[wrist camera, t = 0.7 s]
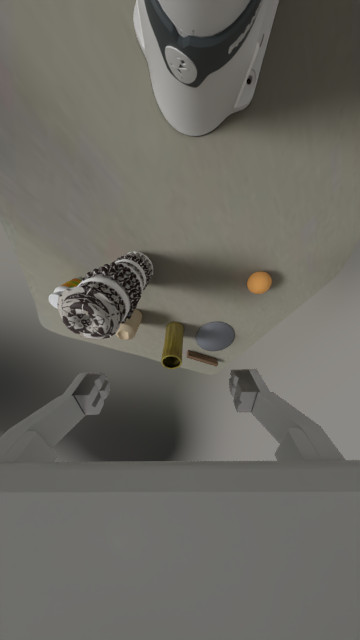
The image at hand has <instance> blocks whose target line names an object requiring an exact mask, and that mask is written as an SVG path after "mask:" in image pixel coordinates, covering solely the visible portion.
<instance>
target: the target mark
mask: <svg viewBox="0 0 360 640" xmlns="http://www.w3.org/2000/svg"><path fill="white" fill-rule="evenodd" d="M233 340H234V331H233V329H232V328H231V326H229V325H228V324H226V323H223V322H211V323H208V324H206V325H204V326H202V327H201V328H200V329H199V331H198V332H197V335H196V341H197V343H198V345H199V346H200V347H201V348H203V349H205V350H208V351H219V350H222V349H225V348H226V347H228V346H229V345H230V344H231V343H232V342H233Z"/></svg>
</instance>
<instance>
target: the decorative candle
mask: <svg viewBox="0 0 360 640" xmlns="http://www.w3.org/2000/svg"><path fill="white" fill-rule="evenodd" d="M152 275H153V265H152V262H151V261H150V259H149V258H148V257H147V256H146V255H144V254H143V253H141V252H136V251H133V252H129V253H126V254H125V255H123V256H121V257H120V258H118V259H117V260H116V261H114V262H112V263H110V264H105V265H104V267H100V268H99V270H98V269H94V270H93V272H88V273H87V274H86V277H85V278H83V279H82V282H81V283H80V284H79V285H78V286H77V287H73V288H69V289H65V290H64V291H63V292H62V293H61V294H60V295H59V297H58V303H57V307H58V310H59V313H60V316H61V318H62V321H63V322H64V324H65V325H66V326H67V327H68V328H69V329H70V330H71V331H73V332H74V333H75V334H78V335H80V336H83V337H86V338H97V339H103V338H109V337H111V336H112V335H114V334H115V333H117V331H118V329H119V327H120V325H121V324H120V323H122V324H123V323H125V322H126V319H130V318H131V315H132V314H133V311H134V310H135V308H136V307H137V304H138V301H139V299H140V298H141V294H142V292H143V290H144V289H145V288H146V287H147V285H148V284H149V282H150V280H151V278H152ZM94 276H95V277H94Z"/></svg>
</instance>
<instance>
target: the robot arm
mask: <svg viewBox="0 0 360 640" xmlns="http://www.w3.org/2000/svg"><path fill="white" fill-rule="evenodd" d="M278 3H279V0H137V1H136V5H135V9H134V27H135V32H136V36H137V39H138V42H139V44H140V46H141V49H142V51H143V53H144V55H145V57H146V59H147V62H148V66H149V71H150V76H151V82H152V86H153V90H154V94H155V97H156V100H157V103H158V105H159V107H160V109H161V111H162V113H163V115H164V116H165V118H166V119H167V121H168V122H169V123H170V124H171V125H172V126H173V127H174V128H175V129H176V130H178V131H179V132H181V133H183V134H185V135H189V136H200V135H204V134H207V133H209V132H210V131H212V130H214V129H215V128H216V127H217V126H218V125H220V124H221V123H222V122H223V120H224V119H225V118H226V117H228V116H229V115H230V114H232V113H235V112H238V111H241V110H243V109H245V108H246V107H247V106H248V105H249V104H250V102H251V100H252V97H253V95H254V91H255V88H256V84H257V80H258V76H259V73H260V69H261V65H262V62H263V58H264V54H265V51H266V47H267V43H268V40H269V36H270V32H271V28H272V25H273V21H274V17H275V14H276V10H277V6H278ZM247 79H250V80H251V84H250V85H248V84H247ZM230 375H231V378H230V379H229V388H230V392H231V395H232V396H234V405H235V408H236V411H237V412H252V414H253V415H254V416H255V417H256V419H257V420H258V421H259V422H260V423H261V424H262V425H263V426H264V427H265V428H266V429H267V430H268V431H269V433H270V434H271V435H272V436H273V437H274V438H275V439H276V440H277V441H278V442H279V443H280V445H279V447H278V449H277V450H276V452H275V456H276V459H277V461H175V462H174V461H170V462H169V461H167V462H54V461H55V459H56V458H57V453H56V452H55V451H54V450H53V449H52V448H53V447H54V446H55V444H57V443H58V442H59V441H60V440H61V439H62V438H63V437H64V436H65V435H66V434H67V433H68V432H69V431H70V430H71V429H72V428H73V427H74V426H75V425H76V424H77V423H78V422H79V421H80V420H81V419H82V418H83V417H84V415H94V414H99V413H100V411H101V408H102V406H103V404H104V402H103V400H104V399H105V398H106V397H107V396H108V393H109V390H110V384H109V382H108V381H107V380H106V377H107V376H106V374H105V373H80V374H79V375H78V376H77V377H76V378H75V380H74V381H73V382H72V384H71V385H70V386H69V387H68V389H67V390H66V391H65V393H64V394H63V395H62V396H59V397H57V398H56V399H54V400H53V401H51V402H50V403H48V404H47V405H45V406H44V407H42V408H41V409H39V410H38V411H36V412H35V413H33V414H32V415H30V416H29V417H27V418H26V419H24V420H23V421H21V422H20V423H18V424H17V425H15V426H14V427H12V428H10V429H9V430H8V431H7V432H6V433H5V434H4V435H3V436H2V437H1V438H0V640H360V460H345V459H344V457H343V456H342V454H341V453H340V452H339V451H338V449H337V448H336V447H335V445H334V444H333V442H332V441H331V440H330V438H329V437H328V436H327V434H326V433H325V432H324V430H323V429H322V428H321V426H319V425H318V424H316V423H315V422H314V421H312V420H311V419H309V418H308V417H307V416H305V415H304V414H302V413H301V412H300V411H298V410H297V409H296V408H294V407H293V406H292V405H290V404H289V403H287V402H286V401H285V400H283V399H282V398H280V397H279V396H278V395H276V394H275V393H273V392H270V391H269V389H268V387H267V386H266V384H265V382H264V381H263V379H262V377H261V375H260V374H259V372H258V371H257V370H256V369H242V370H231V373H230Z"/></svg>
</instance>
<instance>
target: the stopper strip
mask: <svg viewBox="0 0 360 640" xmlns="http://www.w3.org/2000/svg"><path fill="white" fill-rule="evenodd" d="M187 358H190V359H194V360H197V361H201V362H204V363H207V364H211V365H214V366H217V365H218V361H217V359H215V358H212V357H208V356H205V355H202V354H199V353H195V352H192V351H189V350H188V352H187Z"/></svg>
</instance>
